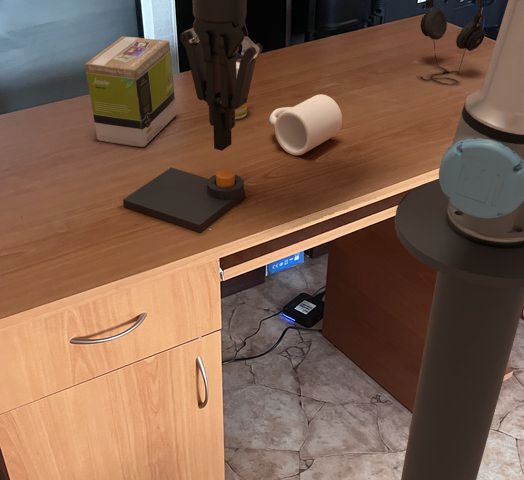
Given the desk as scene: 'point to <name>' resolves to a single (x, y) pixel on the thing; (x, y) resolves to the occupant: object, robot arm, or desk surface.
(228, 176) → the tare button
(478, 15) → the headphones
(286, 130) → the mug
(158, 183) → the dark grey flat block
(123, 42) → the tea box
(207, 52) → the robot arm
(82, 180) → the desk surface
